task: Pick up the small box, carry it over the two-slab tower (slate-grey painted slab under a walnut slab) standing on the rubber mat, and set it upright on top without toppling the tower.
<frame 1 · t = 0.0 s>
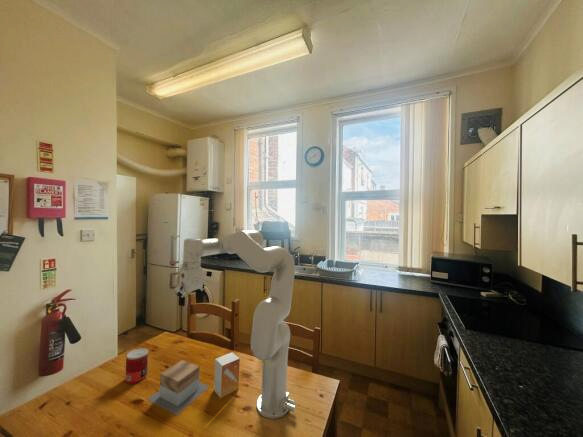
hand: (190, 302, 108), 31 cm above the table, fingers open, 9 cm apart
canned food: (136, 378, 101), on the table
mat: (179, 394, 93), on the table
tower base: (179, 392, 93), resting on mat, touching tower top
tower top: (180, 381, 93), point 5 cm above the table, touching tower base
small box: (226, 390, 96), on the table
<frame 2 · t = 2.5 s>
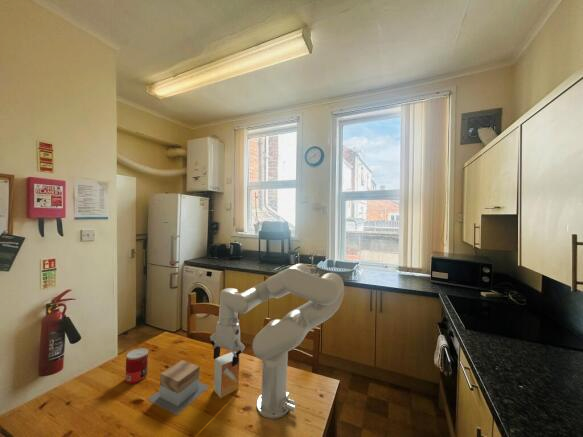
hand: (225, 361, 96), 12 cm above the table, fingers open, 9 cm apart
nothing on the table moved.
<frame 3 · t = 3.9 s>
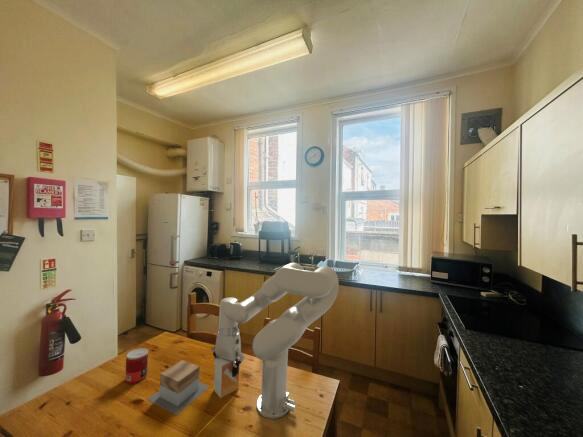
hand: (226, 371, 96), 7 cm above the table, fingers closed on small box, 8 cm apart
small box: (226, 390, 96), on the table, touching gripper
everything else where it was.
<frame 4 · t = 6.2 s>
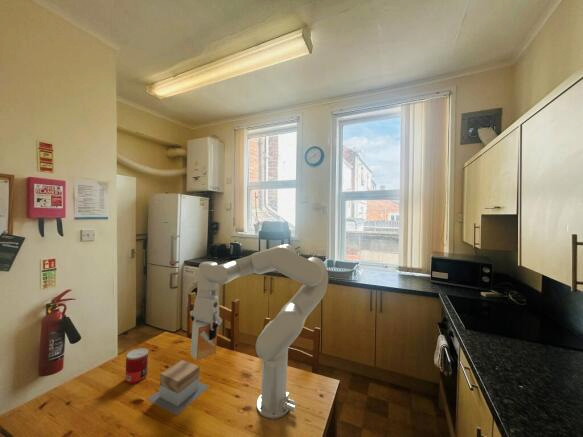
hand: (204, 335, 95), 23 cm above the table, fingers closed on small box, 8 cm apart
small box: (203, 354, 95), point 15 cm above the table, touching gripper
everything else where it was.
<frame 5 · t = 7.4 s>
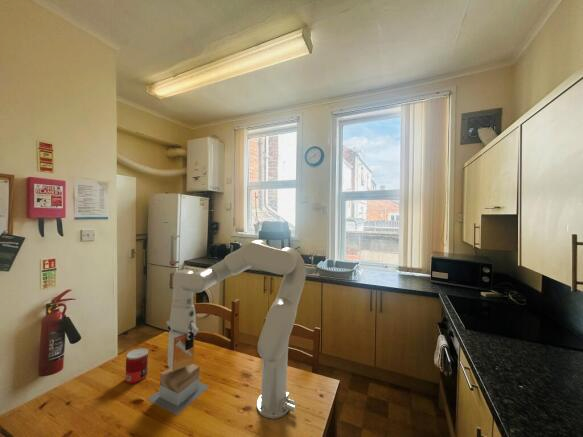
hand: (181, 345, 93), 19 cm above the table, fingers closed on small box, 8 cm apart
small box: (180, 364, 93), point 12 cm above the table, touching gripper
everything else where it was.
when the fingers open (18 cm above the table, at t = 8.5 s): small box drops 1 cm, resting on tower top.
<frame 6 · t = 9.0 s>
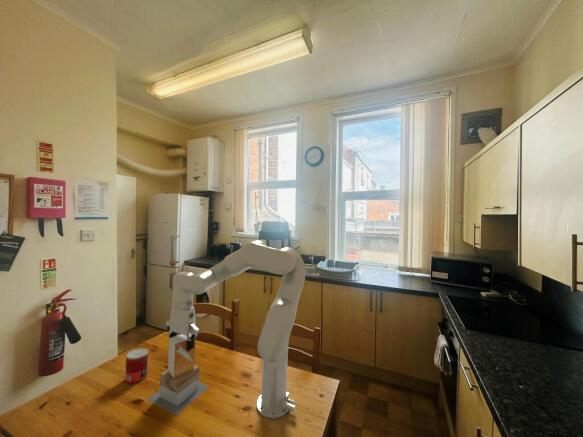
hand: (181, 346, 93), 19 cm above the table, fingers open, 9 cm apart
tower top: (180, 381, 93), point 5 cm above the table, touching small box, tower base
small box: (181, 370, 93), point 9 cm above the table, touching tower top
everything else where it was.
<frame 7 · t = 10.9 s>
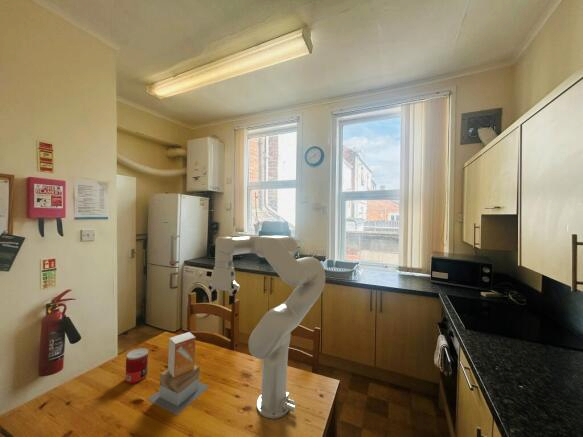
hand: (222, 302, 105), 33 cm above the table, fingers open, 9 cm apart
nothing on the table moved.
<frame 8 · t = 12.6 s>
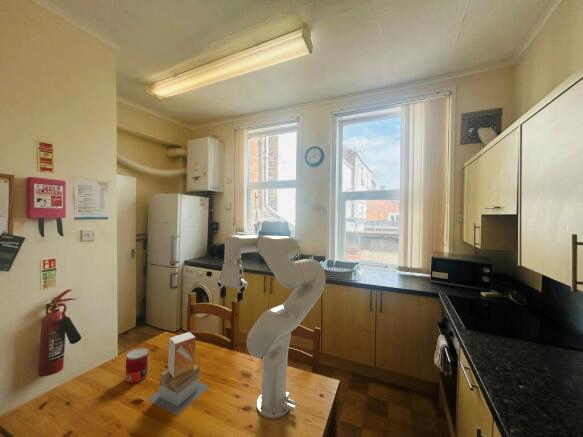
hand: (231, 298, 108), 33 cm above the table, fingers open, 9 cm apart
nothing on the table moved.
at the end: small box 0.4 cm from the tower top (horizontally); small box point 9.3 cm above the table; tower top tilted 0° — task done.
